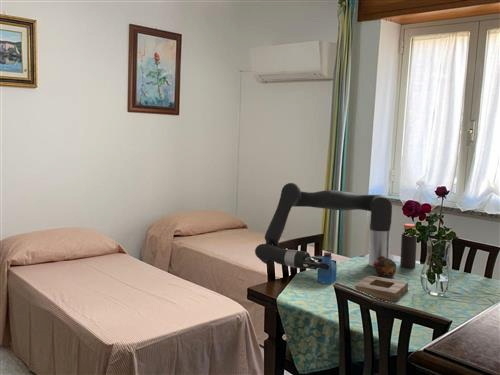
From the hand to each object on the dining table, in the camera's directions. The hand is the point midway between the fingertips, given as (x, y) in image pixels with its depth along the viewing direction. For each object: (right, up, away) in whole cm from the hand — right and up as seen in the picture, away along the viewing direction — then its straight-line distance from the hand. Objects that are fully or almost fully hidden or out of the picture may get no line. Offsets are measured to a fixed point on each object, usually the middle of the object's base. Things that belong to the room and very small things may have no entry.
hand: (332, 265), depth 208 cm
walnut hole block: (+17, -9, -12) cm, 23 cm away
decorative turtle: (+25, -7, +10) cm, 27 cm away
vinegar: (+39, -5, +25) cm, 47 cm away
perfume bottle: (-2, -7, +2) cm, 8 cm away
